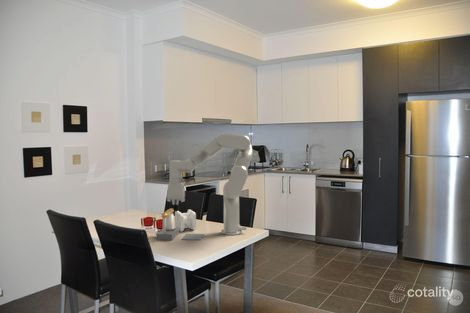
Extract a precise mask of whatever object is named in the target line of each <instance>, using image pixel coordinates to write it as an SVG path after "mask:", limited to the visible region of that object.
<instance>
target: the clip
mask: <svg viewBox="0 0 470 313" xmlns="http://www.w3.org/2000/svg"><path fill="white" fill-rule="evenodd" d="M171 213H175V212H174V210H173V207H172V208H169V209H167V210H165V211H164V212H163V213H161V218H163V217H167V216H168V215H170V214H171Z"/></svg>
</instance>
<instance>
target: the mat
mask: <svg viewBox="0 0 470 313" xmlns="http://www.w3.org/2000/svg"><path fill="white" fill-rule="evenodd" d="M204 236H205V233H185V234H184V235H183V237H182V238H180V239H181V241H201V240H202V239H203V238H204Z"/></svg>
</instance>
